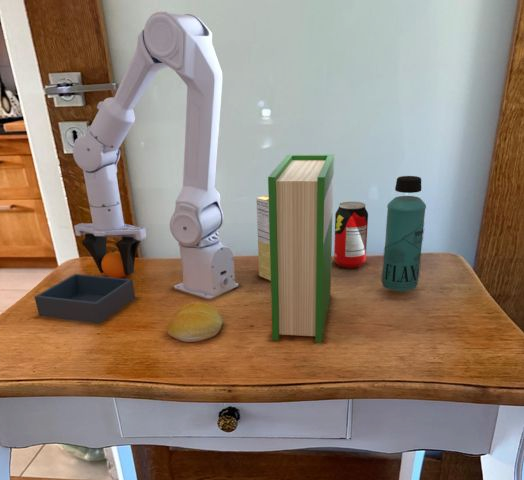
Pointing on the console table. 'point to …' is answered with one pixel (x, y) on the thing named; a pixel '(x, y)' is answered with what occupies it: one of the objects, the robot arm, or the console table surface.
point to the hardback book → (301, 244)
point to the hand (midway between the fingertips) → (116, 272)
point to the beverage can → (350, 234)
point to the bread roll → (195, 322)
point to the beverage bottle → (403, 237)
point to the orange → (113, 265)
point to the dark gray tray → (85, 298)
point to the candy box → (263, 237)
